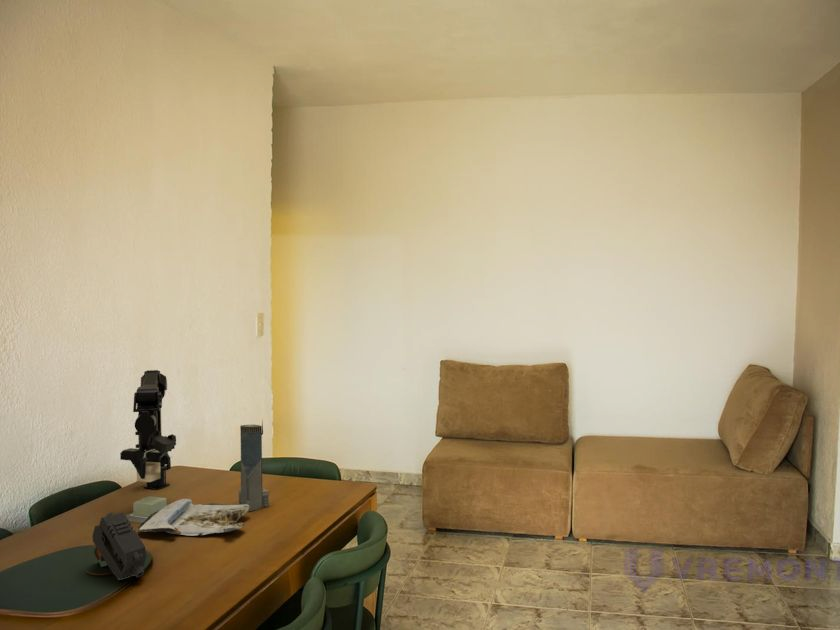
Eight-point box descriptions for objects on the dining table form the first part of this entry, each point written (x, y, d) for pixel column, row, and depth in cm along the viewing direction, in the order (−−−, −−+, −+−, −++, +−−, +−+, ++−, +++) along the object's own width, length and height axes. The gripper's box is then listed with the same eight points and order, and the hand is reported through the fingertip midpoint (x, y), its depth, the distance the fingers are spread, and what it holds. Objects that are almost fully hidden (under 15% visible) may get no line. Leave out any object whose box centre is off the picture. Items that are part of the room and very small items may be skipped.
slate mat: (152, 504, 230) (151, 502, 230) (182, 508, 226) (182, 506, 226) (116, 520, 215) (116, 518, 215) (148, 524, 211) (148, 523, 211)
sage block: (148, 508, 225) (148, 496, 225) (166, 510, 223) (166, 498, 222) (133, 515, 218) (133, 502, 218) (151, 517, 216) (151, 504, 216)
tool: (108, 546, 186) (121, 504, 181) (141, 600, 176) (156, 557, 170) (85, 553, 181) (98, 510, 176) (117, 608, 171) (132, 564, 166)
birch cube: (147, 477, 225) (147, 461, 225) (160, 478, 223) (160, 462, 223) (136, 481, 220) (136, 465, 220) (149, 482, 218) (149, 466, 218)
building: (271, 503, 231) (270, 414, 230) (262, 512, 222) (262, 419, 221) (241, 502, 232) (240, 413, 231) (231, 511, 223) (230, 418, 222)
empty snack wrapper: (237, 545, 198) (237, 527, 197) (132, 543, 198) (131, 525, 197) (256, 513, 222) (256, 497, 221) (162, 511, 221) (162, 495, 221)
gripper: (148, 434, 210) (149, 486, 210) (188, 424, 227) (188, 471, 228) (118, 432, 213) (119, 483, 214) (159, 422, 231) (160, 468, 231)
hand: (148, 476), depth 221 cm, fingers closed on birch cube, 5 cm apart
